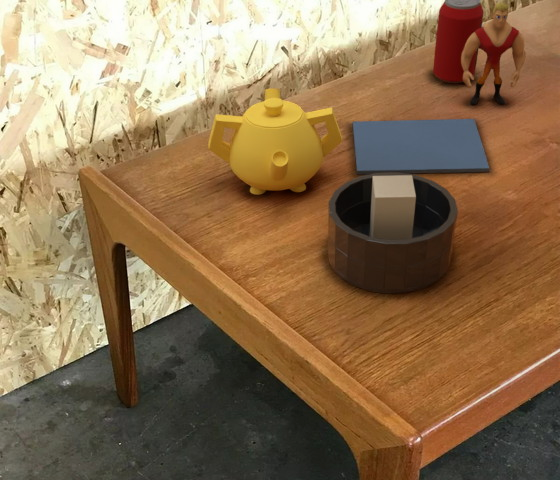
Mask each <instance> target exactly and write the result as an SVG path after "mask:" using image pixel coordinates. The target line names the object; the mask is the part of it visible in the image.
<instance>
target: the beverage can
mask: <svg viewBox="0 0 560 480" xmlns="http://www.w3.org/2000/svg"><path fill="white" fill-rule="evenodd" d="M481 1H482V0H444V2H442V4H441V6H440V8H439V9H438V18H437V27H436V36H435V44H434V46H435V47H434V56H433V65H432V68H433V69H432V71H433V72H432V73H433V75H434V76H435V77H437V78H438V79H439V80H440V81H443V82H445V83H450V84H459V83H464V81H463V73H464V70H463V68H462V64H461V55H462V52H463V50H464V47H465V44H466V42H467V40H468V38H469V37H470V36H471V34H472V33H474V32H475V31H476V30H478V29H480V28H482V27H483V19H484V12H485V11H484V8H483V6H482V3H481ZM479 50H480V49H479V48H478V49H477V50H476V51H475V52H474V55H473V56H472V59H471V62H470V65H469V68H468V71H469V72H470V73H471V74H472V75H473V76H474V75H475V73H476V70H477V69H476V67H477V62H478V55H479Z"/></svg>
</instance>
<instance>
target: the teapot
mask: <svg viewBox="0 0 560 480" xmlns="http://www.w3.org/2000/svg"><path fill="white" fill-rule="evenodd" d="M321 123H325V127H326V131H327V133H326V134H325V135H323V136H322V137H320V133H319V132H318V130H317V128H316V126H315V125H318V124H321ZM225 129H231V130H233V133H232V135H231V139H230V143H229V142H227V141H225V140H224V139H223V137H224V133H225ZM342 143H343V134H342V131H341V129H340V126H339V123H338V120H337V117H336V114H335V111H334V109H333V107H327V108H322V109H318V110H312V111H307V112H306V111H304V109H302V107H301V106H300V105H299V104H297V103H294V102H292V101H287V100H284V99H282V98H281V89H279V88H274V87H271V88H266V89H264V100H263V101H260V102H257V103H255V104H252V105H251V106H250V107H248V108H247V110H246V111H245V112H244V113H243V115H242V116H240V115H229V114H228V115H227V114H217V113H216V114H214V118H213V122H212V126H211V130H210V134H209V138H208V142H207V147H208V151H210V152H211V153H213V154H215V155H216V156H217V157H218V158H220V159H222V160H223V161H224V162H226V163H227V164H228V165H229V167H230V169H231V171H232V173H233V174H235V176H236V177H237V178H238V179H240V180H241V181H242V182H244V184H246V185H248V186H250V188H249V192H250V193H251V194H253V195H256V196H257V195H262V194H265V193H266V192H267V191H284V190H290V191H291V192H294V193H301V192H304V191H306V189H307V185H306V184H305V183H307V182H308V181H310V179H312V177H313V176H315V175H316V174H317V173H318V172H319V170H320V169H321V168H322V165H323V162H324V159H325V157H327V156H328V155H329V154H330V153H331V152H332V151H333V150H334V149H336V148H337V147H338V146H340V145H341V144H342Z"/></svg>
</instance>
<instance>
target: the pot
mask: <svg viewBox="0 0 560 480" xmlns="http://www.w3.org/2000/svg"><path fill="white" fill-rule="evenodd" d="M399 175H412V178H413V183H414V189H415V194H416V201H415V212H414V222H413V232H412V238H411V239H396V240H386V239H380V238H375V237H369V236H370V217H371V198H372V179H373V176H399ZM327 207H328V208H327V211H328V212H327V213H328V214H327V215H328V216H327V218H328V219H327V225H328V227H327V228H328V229H327V256H328V262H329V265H330V267H331V269H332V270H333V271H334V273H335V274H336V275H337V276H338V277H339V278H341V280H342V281H344V282H345V283H348V284H350V285H351V286H354V287H356V288H358V289H360V290H364V291H368V292H373V293H377V294H378V293H379V294H391V295H395V294H407V293H412V292H415V291H419V290H422V289H425V288H427V287H429V286H432V285H433V284H435V283H436V282H438V281H439V280H440V279H441V278H442V277H443V276H444V275H445V274H446V272H447V271H448V269H449V266H450V264H451V258H452V255H453V248H454V240H455V234H456V227H457V220H458V213H459V210H458V205H457V201H456V199H455V197H454V196H453V195H452V194H451V193H450V192H449V190H448V189H447V188H445V187H444V186H442V185H440V184H439V183H437V182H436V181H434V180H432V179H429V178H426V177H423V176H421V175H417V174H414V173H408V174H406V173H399V172H391V173H374V174H363V175H359V176H357V177H355V178H353V179H349V180H348V181H345V182H344V183H342V184H341V185H340V186H339V187H337V189H335V190H334V191H333V193H332V194H331V196H330V199H329V200H328V206H327Z"/></svg>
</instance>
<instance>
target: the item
mask: <svg viewBox="0 0 560 480" xmlns="http://www.w3.org/2000/svg"><path fill="white" fill-rule="evenodd" d="M415 201H416V194H415V189H414V183H413V178H412V175H399V176H373V179H372V198H371V217H370V236H369V237H375V238H380V239H386V240H396V239H411V238H412V232H413V222H414V212H415Z"/></svg>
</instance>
